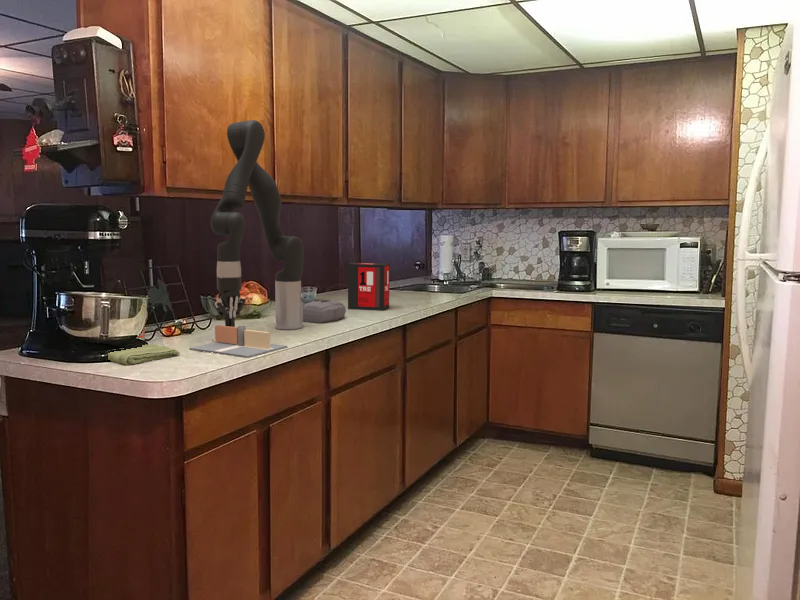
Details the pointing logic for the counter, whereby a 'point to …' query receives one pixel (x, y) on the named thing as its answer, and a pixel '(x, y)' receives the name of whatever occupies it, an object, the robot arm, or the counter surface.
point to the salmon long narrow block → (226, 334)
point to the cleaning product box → (368, 286)
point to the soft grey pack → (323, 311)
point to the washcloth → (142, 354)
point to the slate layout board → (235, 351)
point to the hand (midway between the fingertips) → (230, 329)
